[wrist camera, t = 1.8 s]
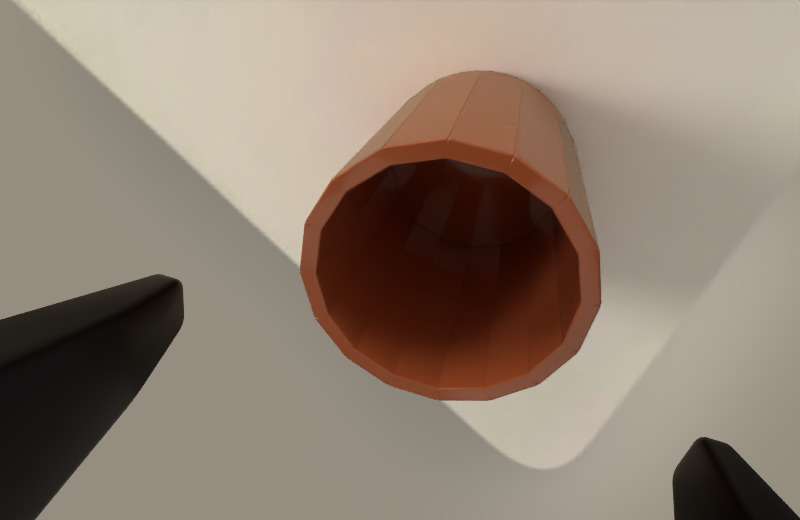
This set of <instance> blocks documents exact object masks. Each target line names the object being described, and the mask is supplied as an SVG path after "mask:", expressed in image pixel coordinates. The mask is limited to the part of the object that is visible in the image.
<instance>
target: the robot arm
mask: <svg viewBox="0 0 800 520" xmlns="http://www.w3.org/2000/svg"><path fill="white" fill-rule="evenodd" d="M183 319H184V304H183V286H182V283H181V282H180V281H179V280H178V279H175V278H172V277H169V276H165V275H160V274H156V275H152V276H149V277H145V278H142V279H139V280H135V281H132V282H128V283H125V284H121V285H118V286H115V287H111V288H108V289H104V290H101V291H97V292H94V293H91V294H87V295H84V296H80V297H77V298H73V299H70V300H67V301H63V302H60V303H56V304H53V305H50V306H46V307H43V308H39V309H36V310H32V311H29V312H25V313H23V314H19V315H15V316H12V317H9V318H5V319H1V320H0V520H35V519H36V518H37V517H38V515H39V514H40V513H41V512H42V511H43V509H44V508H45V507H46V506H47V504H48V503H49V502H50V501H51V500H52V498H53V497H54V496H55V495H56V494H57V492H58V491H59V490H60V489H61V487H62V486H63V485H64V484H65V483H66V481H67V480H68V479H69V478H70V477H71V475H72V474H73V473H74V472H75V470H76V469H77V468H78V466H80V464H81V463H82V462H83V461H84V459H85V458H86V457H87V456H88V455H89V453H90V452H91V451H92V450H93V448H94V447H95V446H96V445H97V444H98V442H99V441H100V440H101V439H102V438H103V436H104V435H105V434H106V433H107V432H108V430H109V429H110V428H111V426H112V425H113V424H114V423H115V422H116V421H117V419H118V418H119V417H120V416H121V414H122V413H123V412H124V411H125V410H126V408H127V407H128V406H129V404H130V403H131V402H132V401H133V399H134V398H135V396H136V395H137V394H138V392H139V391H140V390H141V388H142V386H143V385H144V384H145V382H146V381H147V379H148V377H149V376H150V374H151V373H152V371H153V370H154V368H155V367H156V365H157V364H158V362H159V361H160V359H161V358H162V356H163V355H164V353H165V352H166V350H167V349H168V347H169V345H170V344H171V342H172V341H173V339H174V338H175V336H176V335H177V333H178V332H179V330H180V328H181V326H182V324H183ZM673 500H674V518H675V520H800V518H799V517H798V516H797V515H796V514H795V513H794V511H793V510H792V509H791V508H790V507H789V506H788V505H787V504H786V503H785V502H784V501H783V500H782V499H781V498H780V497H779V496H778V495H777V494H776V493H775V492H774V491H773V490H772V488H771V487H770V486H769V485H768V484H767V483H766V482H765V481H764V480H763V479H762V478H761V477H760V476H759V475H758V474H757V473H756V472H755V471H754V470H753V469H752V468H751V467H750V466H749V465H748V464H747V462H746V461H745V460H743V458H742V457H741V456H740V455H739V454H738V453H737V452H736V451H735V450H734V449H733V448H732V447H731V446H730V445H728V444H726V443H723V442H720V441H717V440H713V439H710V438H707V437H700V438H698V439H697V440H696V441H695V442H694V443H693V445H692V446H691V447H690V449H689V450H688V452H687V453H686V454H685V456H684V457H683V459H682V460H681V461H680V463H679V464H678V465H677V467H676V469H675V471H674V475H673Z"/></svg>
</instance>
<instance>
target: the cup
mask: <svg viewBox="0 0 800 520" xmlns="http://www.w3.org/2000/svg"><path fill="white" fill-rule="evenodd" d="M300 271H301V272H300V273H301V277H302V280H303V283H304V286H305V289H306V292H307V296H308V299H309V302H310V305H311V308H312V311H313V314H314V317H315V318H316V320H317V322H318V323H319V324H320V325H321V327H322V328H323V329H324V330H325V331H326V333H327V334H328V335H329V336H330V338H331V339H332V340H333V342H334V343H335V344H336V345H337V347H338V348H339V349H340V350H341V352H342V353H343V354H344V355H345V356H346V357H347V358H348V359H350V360H351V361H352V362H354V363H355V364H357V365H358V366H360V367H361V368H363V369H364V370H366V371H368V372H369V373H371V374H372V375H373V376H375V377H376V378H378V379H380V380H381V381H382V382H384V383H385V384H389V386H392V387H395V388H399V389H402V390H406V391H409V392H412V393H415V394H418V395H422V396H425V397H428V398H431V399H435V400H437V399H438V400H460V401H488V400H493V399H496V398H499V397H502V396H505V395H508V394H511V393H515V392H518V391H521V390H524V389H527V388H530V387H533V386H536V385H538V384H540V383H541V382H543V381H544V380H545V379H546V378H547V377H549V376H550V375H551V374H552V373H554V372H555V371H556V370H557V369H559V368H560V367H561V366H562V365H563V364H565V363H566V362H567V361H568V360H570V359H571V358H572V357H573V356H574V355H576V354H577V352H578V351H579V350H580V348H581V346H582V344H583V342H584V340H585V338H586V336H587V334H588V331H589V329H590V327H591V325H592V323H593V321H594V319H595V317H596V315H597V313H598V311H599V309H600V305H601V278H600V251H599V247H598V242H597V238H596V234H595V230H594V225H593V221H592V217H591V212H590V208H589V204H588V200H587V195H586V191H585V187H584V183H583V178H582V174H581V170H580V165H579V161H578V157H577V153H576V148H575V144H574V140H573V138H572V136H571V135H570V133H569V130H568V128H567V125H566V123H565V121H564V119H563V117H562V116H561V114H560V113H559V111H558V109H557V108H556V107H555V106H554V105H553V103H552V102H551V101H550V100H549V99H548V98H547V97H546V96H545V95H544V94H543V93H541V92H540V91H539V90H538V89H536V88H535V87H533V86H532V85H530V84H529V83H527V82H525V81H523V80H521V79H518V78H516V77H513V76H510V75H507V74H504V73H499V72H493V71H468V72H461V73H457V74H453V75H449V76H447V77H444V78H442V79H439V80H437V81H435V82H434V83H432V84H430V85H428V86H427V87H425V88H424V89H423V90H421V91H420V92H419V93H417V94H416V95H415V96H413V97H412V98H410V99H409V100H408V101H407V102H406V103H405V104H404V105H403V106H402V107H401V108H400V109H399V110H398V111H397V112H396V113H395V114H394V115H393V116H392V117H391V118H390V119H389V120H388V122H387V123H386V124H385V125H384V126H383V127H382V128H381V129H380V130H379V131H378V132H377V133H376V134H375V135H374V136H373V137H372V138H371V139H370V140H369V141H368V142H367V143H366V144H365V145H364V146H363V147H362V148H361V149H360V151H359V152H358V153H357V154H356V155H355V156H354V157H353V158H352V159H351V160H350V161H349V162H348V163H347V164H346V165H345V166H344V167H343V168H342V169H341V170H340V171H339V172H338V173H337V174H336V175H335V176H334V177H333V178H332V180H331V181H330V183H329V184H328V186H327V188H326V189H325V191H324V192H323V194H322V196H321V197H320V199H319V200H318V202H317V204H316V205H315V207H314V208H313V210H312V212H311V213H310V215H309V216H308V218H307V219H306V223H305V226H304V236H303V245H302V255H301V265H300Z"/></svg>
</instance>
